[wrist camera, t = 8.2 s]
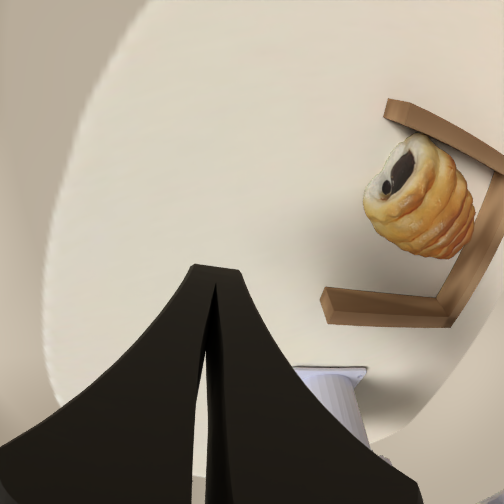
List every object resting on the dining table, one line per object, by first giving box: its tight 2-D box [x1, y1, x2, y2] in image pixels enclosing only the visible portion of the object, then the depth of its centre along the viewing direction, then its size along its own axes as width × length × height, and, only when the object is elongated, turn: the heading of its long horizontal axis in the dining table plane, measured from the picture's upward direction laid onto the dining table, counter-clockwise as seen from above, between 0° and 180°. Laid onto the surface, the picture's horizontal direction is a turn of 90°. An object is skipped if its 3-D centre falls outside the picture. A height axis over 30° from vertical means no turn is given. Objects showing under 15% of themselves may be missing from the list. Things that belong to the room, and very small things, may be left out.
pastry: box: [363, 133, 476, 259], centre depth 16 cm, size 9×7×4 cm
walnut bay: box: [320, 98, 504, 328], centre depth 17 cm, size 14×12×2 cm
